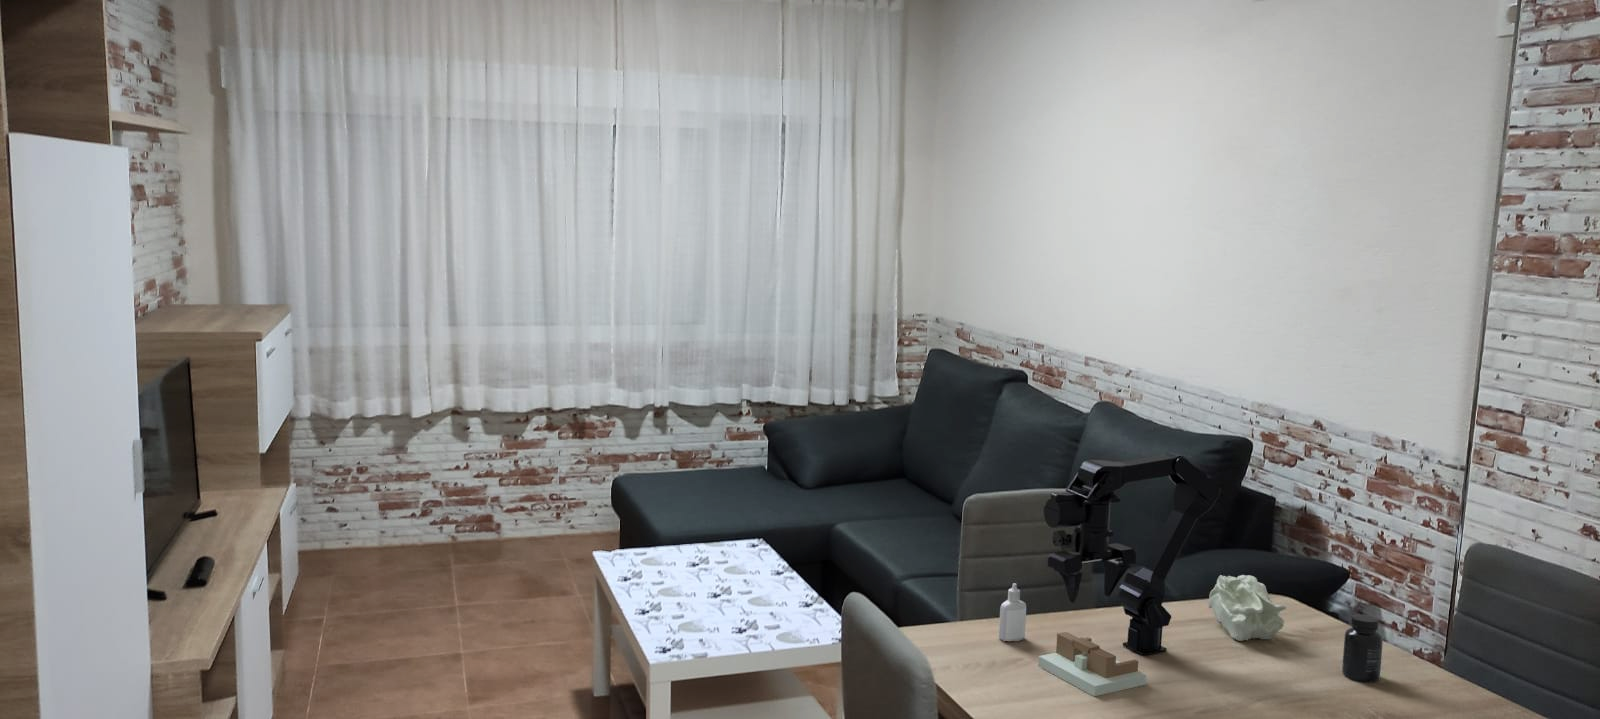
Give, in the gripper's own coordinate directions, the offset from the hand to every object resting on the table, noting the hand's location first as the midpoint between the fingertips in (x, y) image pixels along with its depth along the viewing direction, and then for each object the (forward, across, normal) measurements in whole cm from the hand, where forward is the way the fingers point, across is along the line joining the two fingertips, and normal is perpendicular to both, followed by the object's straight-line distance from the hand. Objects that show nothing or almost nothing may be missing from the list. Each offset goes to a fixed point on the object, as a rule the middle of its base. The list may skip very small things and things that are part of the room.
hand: (1089, 599), depth 234 cm
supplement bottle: (+12, -43, +31) cm, 54 cm away
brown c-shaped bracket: (+10, +4, +7) cm, 13 cm away
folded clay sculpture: (+12, -41, +4) cm, 43 cm away
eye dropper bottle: (+12, +8, -14) cm, 20 cm away
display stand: (+12, +7, +8) cm, 16 cm away
